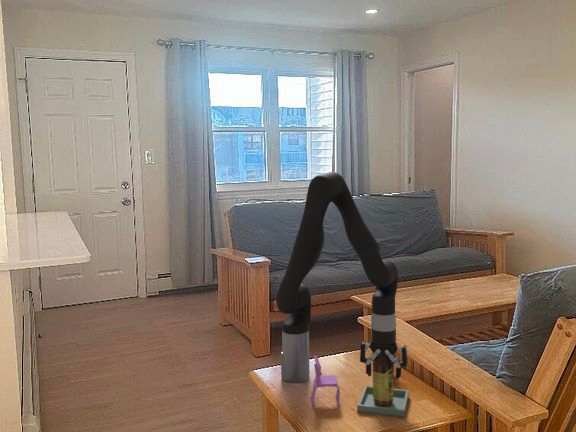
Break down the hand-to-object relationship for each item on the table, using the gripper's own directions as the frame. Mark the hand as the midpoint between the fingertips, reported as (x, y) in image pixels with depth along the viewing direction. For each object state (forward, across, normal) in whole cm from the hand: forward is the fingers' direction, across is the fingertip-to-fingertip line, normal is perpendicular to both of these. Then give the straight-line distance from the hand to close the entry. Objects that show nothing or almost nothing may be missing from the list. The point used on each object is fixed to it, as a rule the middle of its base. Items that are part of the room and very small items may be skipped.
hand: (383, 376), depth 168 cm
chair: (+9, -18, -3) cm, 20 cm away
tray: (+9, 0, 0) cm, 9 cm away
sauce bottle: (+9, 0, 0) cm, 9 cm away
